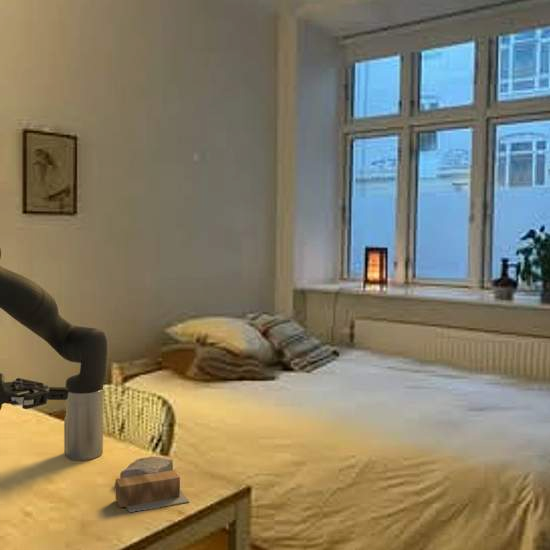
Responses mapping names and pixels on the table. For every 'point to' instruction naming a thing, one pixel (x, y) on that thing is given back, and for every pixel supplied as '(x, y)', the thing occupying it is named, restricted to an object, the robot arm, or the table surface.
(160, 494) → the walnut block
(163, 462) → the stone block
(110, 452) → the table surface
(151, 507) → the felt pad
